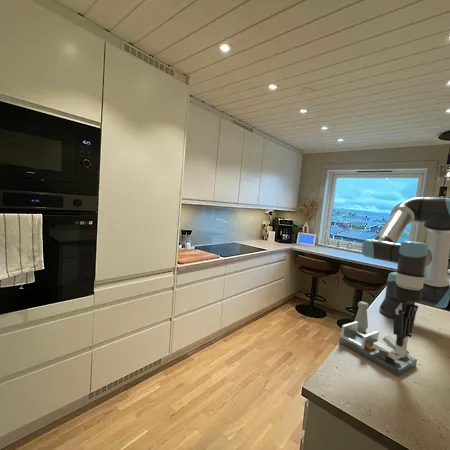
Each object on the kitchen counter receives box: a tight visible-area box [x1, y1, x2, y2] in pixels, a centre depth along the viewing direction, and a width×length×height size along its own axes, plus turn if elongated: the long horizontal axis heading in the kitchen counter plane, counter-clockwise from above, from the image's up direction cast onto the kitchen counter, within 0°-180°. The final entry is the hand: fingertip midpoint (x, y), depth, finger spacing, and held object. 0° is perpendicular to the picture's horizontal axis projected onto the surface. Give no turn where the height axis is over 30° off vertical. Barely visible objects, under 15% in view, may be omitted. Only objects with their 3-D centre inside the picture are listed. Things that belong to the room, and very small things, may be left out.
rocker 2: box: [382, 334, 410, 358], centre depth 94 cm, size 4×8×2 cm, turn 31°
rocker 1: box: [373, 340, 401, 360], centre depth 91 cm, size 4×8×2 cm, turn 31°
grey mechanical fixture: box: [338, 321, 418, 377], centre depth 97 cm, size 13×22×8 cm, turn 31°
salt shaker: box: [353, 301, 370, 333], centre depth 116 cm, size 6×6×13 cm
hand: (400, 354), depth 87 cm, fingers closed
